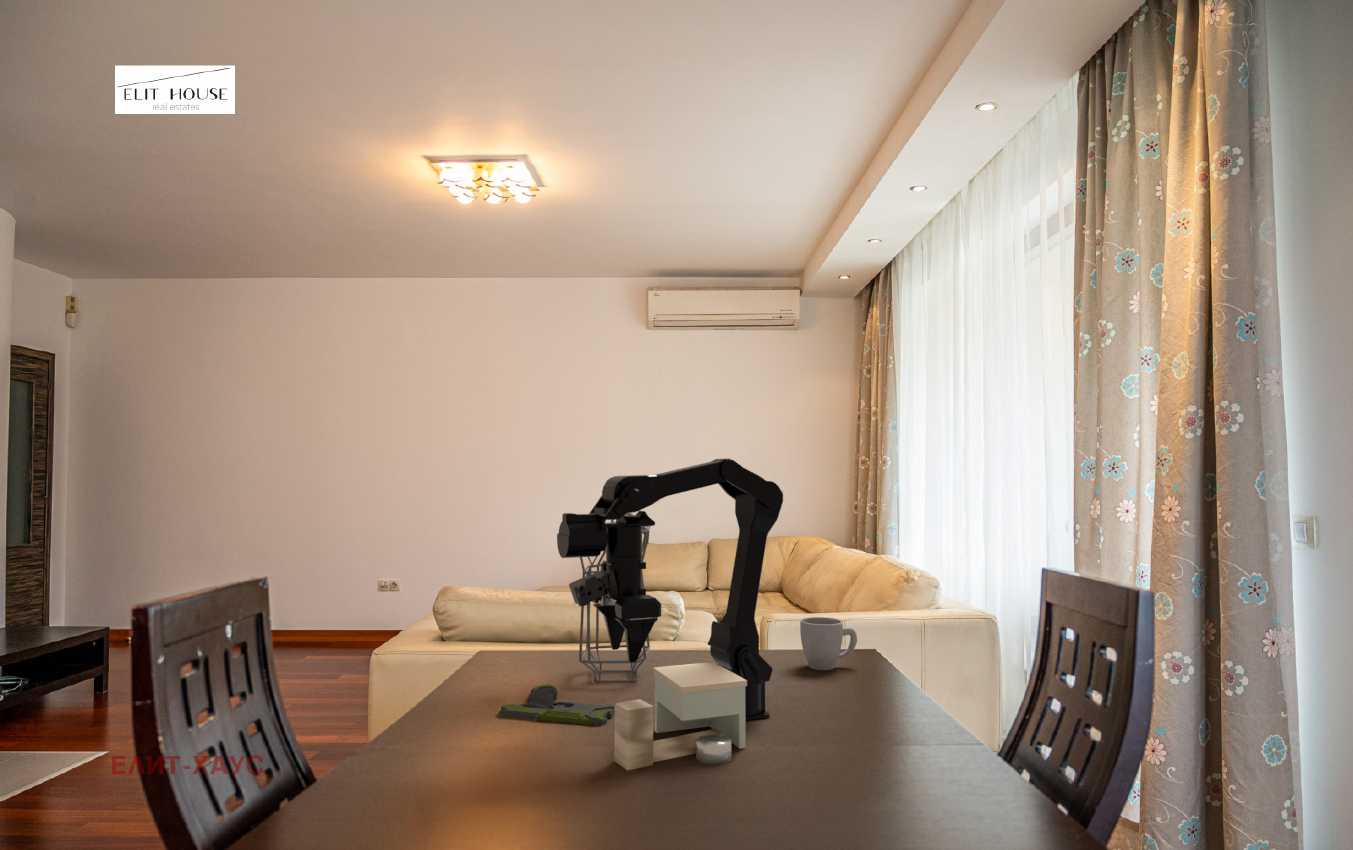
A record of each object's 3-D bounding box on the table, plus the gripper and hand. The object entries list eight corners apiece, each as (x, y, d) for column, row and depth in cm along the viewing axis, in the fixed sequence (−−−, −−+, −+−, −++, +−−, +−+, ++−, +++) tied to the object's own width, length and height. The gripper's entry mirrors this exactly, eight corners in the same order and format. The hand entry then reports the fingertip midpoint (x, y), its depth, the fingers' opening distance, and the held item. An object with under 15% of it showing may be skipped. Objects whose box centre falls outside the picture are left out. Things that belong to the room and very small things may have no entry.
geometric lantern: (652, 687, 147) (648, 503, 149) (570, 689, 147) (567, 505, 149) (656, 666, 163) (652, 499, 165) (581, 667, 163) (578, 501, 165)
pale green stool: (713, 723, 126) (713, 661, 127) (747, 748, 114) (747, 680, 115) (653, 730, 122) (653, 667, 123) (681, 757, 111) (681, 687, 111)
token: (721, 750, 114) (721, 732, 114) (737, 761, 110) (737, 743, 110) (690, 755, 112) (690, 737, 112) (705, 767, 108) (705, 748, 108)
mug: (806, 672, 158) (806, 624, 159) (796, 662, 167) (795, 617, 168) (863, 671, 159) (863, 624, 160) (850, 661, 168) (849, 616, 169)
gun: (630, 704, 139) (602, 734, 124) (531, 696, 143) (494, 723, 129) (630, 690, 139) (602, 718, 124) (531, 682, 143) (494, 707, 129)
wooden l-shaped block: (712, 740, 118) (712, 687, 118) (727, 748, 114) (726, 693, 115) (614, 761, 109) (614, 703, 110) (627, 770, 106) (627, 710, 106)
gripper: (560, 551, 128) (559, 647, 127) (589, 563, 111) (588, 674, 110) (625, 549, 132) (624, 642, 131) (662, 560, 115) (662, 667, 114)
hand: (623, 655), depth 122 cm, fingers open, 9 cm apart
